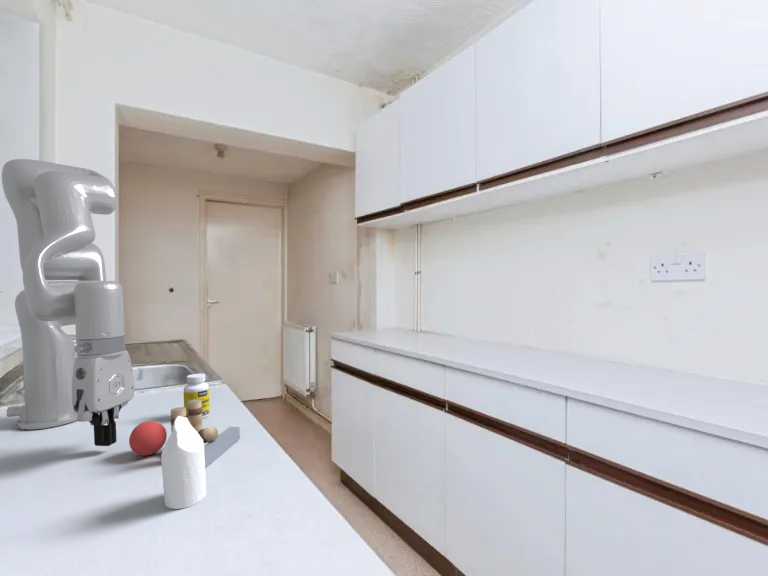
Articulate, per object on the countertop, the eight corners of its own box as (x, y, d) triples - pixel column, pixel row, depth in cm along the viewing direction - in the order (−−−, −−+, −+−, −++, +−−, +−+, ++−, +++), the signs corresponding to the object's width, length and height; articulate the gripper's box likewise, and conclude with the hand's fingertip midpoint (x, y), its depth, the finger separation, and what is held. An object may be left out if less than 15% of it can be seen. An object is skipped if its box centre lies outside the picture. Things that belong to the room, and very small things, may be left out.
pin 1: (170, 463, 71) (168, 412, 71) (174, 457, 74) (172, 407, 73) (186, 461, 72) (184, 410, 72) (189, 455, 74) (187, 406, 74)
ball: (147, 440, 71) (134, 467, 72) (178, 431, 76) (165, 456, 78) (129, 418, 73) (117, 444, 75) (160, 411, 79) (149, 435, 80)
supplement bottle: (200, 421, 93) (198, 378, 93) (179, 420, 94) (177, 377, 94) (214, 413, 98) (213, 372, 98) (194, 412, 99) (193, 372, 99)
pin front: (164, 447, 74) (207, 432, 73) (170, 437, 76) (213, 422, 75) (171, 457, 75) (214, 442, 74) (178, 447, 77) (219, 432, 76)
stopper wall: (189, 472, 68) (188, 457, 68) (230, 439, 82) (229, 426, 82) (200, 472, 68) (199, 457, 67) (239, 439, 81) (239, 426, 81)
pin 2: (187, 451, 76) (185, 403, 76) (190, 446, 79) (188, 399, 78) (202, 449, 77) (200, 402, 77) (204, 444, 79) (202, 398, 79)
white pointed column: (193, 422, 56) (151, 424, 56) (197, 508, 57) (155, 511, 56) (209, 408, 62) (170, 410, 62) (212, 486, 63) (174, 489, 62)
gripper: (86, 354, 69) (91, 462, 69) (147, 340, 84) (151, 429, 84) (46, 354, 70) (51, 461, 70) (113, 341, 85) (117, 429, 85)
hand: (105, 444), depth 77 cm, fingers closed
